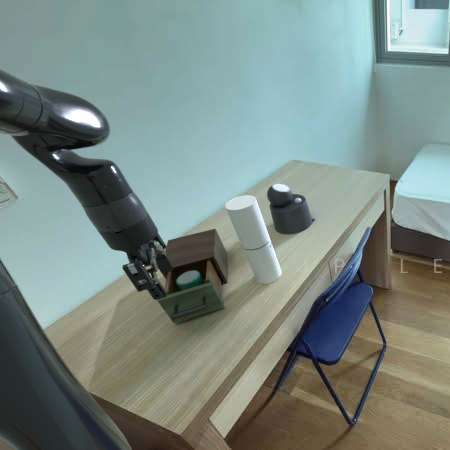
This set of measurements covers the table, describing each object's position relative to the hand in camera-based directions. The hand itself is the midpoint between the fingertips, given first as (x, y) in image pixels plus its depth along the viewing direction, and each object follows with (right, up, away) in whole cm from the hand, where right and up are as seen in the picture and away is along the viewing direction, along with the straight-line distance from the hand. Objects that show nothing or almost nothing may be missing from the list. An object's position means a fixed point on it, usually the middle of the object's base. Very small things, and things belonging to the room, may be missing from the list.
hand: (164, 283), depth 64 cm
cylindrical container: (+10, -3, +27) cm, 29 cm away
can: (-5, -7, +18) cm, 20 cm away
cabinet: (-10, -2, +28) cm, 30 cm away
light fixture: (+11, +13, +49) cm, 52 cm away
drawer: (-4, -8, +18) cm, 20 cm away
